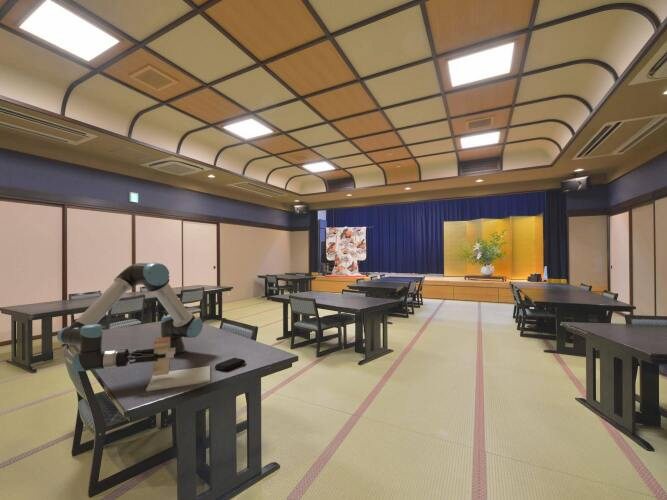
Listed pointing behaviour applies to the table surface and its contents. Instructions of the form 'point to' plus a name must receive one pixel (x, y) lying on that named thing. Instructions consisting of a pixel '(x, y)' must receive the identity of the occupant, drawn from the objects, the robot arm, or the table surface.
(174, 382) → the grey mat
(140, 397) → the table surface
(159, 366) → the birch block
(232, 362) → the carrying case or bag
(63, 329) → the robot arm
